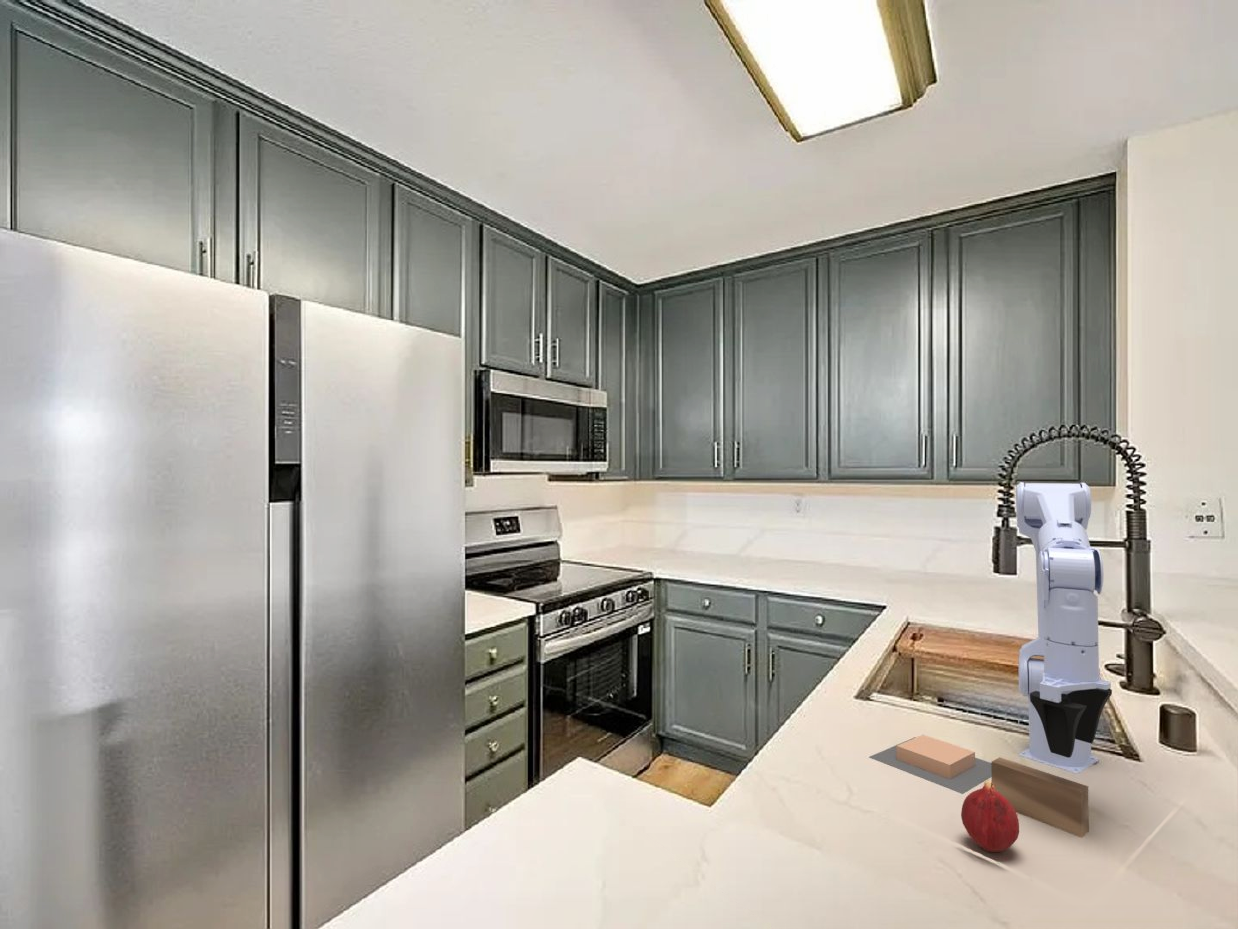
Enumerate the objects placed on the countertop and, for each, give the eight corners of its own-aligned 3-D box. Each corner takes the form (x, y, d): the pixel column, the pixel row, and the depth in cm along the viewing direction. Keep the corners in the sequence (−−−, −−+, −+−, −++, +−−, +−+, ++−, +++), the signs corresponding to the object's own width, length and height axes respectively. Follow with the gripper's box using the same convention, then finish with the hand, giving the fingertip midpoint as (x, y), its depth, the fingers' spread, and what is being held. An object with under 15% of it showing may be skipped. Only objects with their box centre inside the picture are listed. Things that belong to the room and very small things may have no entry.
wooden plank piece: (999, 802, 83) (999, 757, 83) (1089, 836, 75) (1088, 786, 75) (991, 807, 81) (991, 761, 82) (1081, 842, 73) (1080, 791, 74)
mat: (914, 740, 103) (914, 737, 103) (1006, 771, 92) (1006, 768, 92) (868, 760, 95) (868, 757, 95) (962, 797, 84) (962, 793, 84)
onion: (1029, 871, 67) (1028, 797, 68) (972, 864, 69) (971, 791, 69) (1006, 842, 73) (1006, 773, 73) (954, 835, 74) (954, 768, 75)
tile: (975, 765, 93) (922, 747, 99) (975, 752, 93) (922, 734, 99) (949, 779, 88) (896, 759, 95) (949, 765, 88) (896, 746, 95)
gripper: (1087, 656, 72) (1089, 774, 71) (1127, 640, 80) (1129, 745, 80) (1020, 643, 77) (1021, 752, 77) (1064, 629, 86) (1065, 727, 85)
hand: (1072, 747), depth 79 cm, fingers open, 7 cm apart
